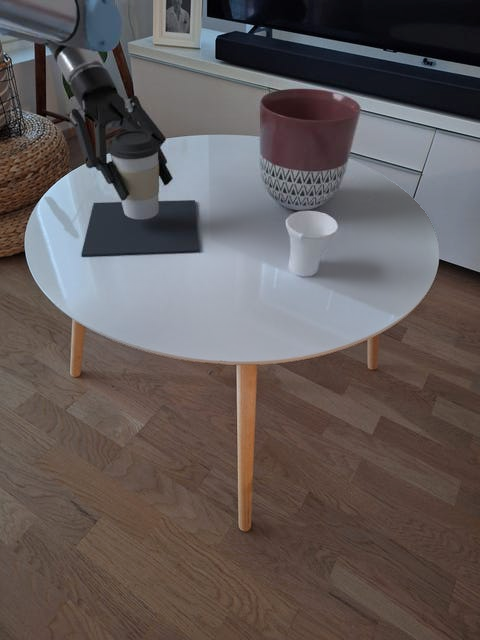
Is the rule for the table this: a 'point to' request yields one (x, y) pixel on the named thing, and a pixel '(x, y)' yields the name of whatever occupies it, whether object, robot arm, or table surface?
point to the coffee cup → (137, 171)
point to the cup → (308, 240)
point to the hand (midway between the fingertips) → (147, 189)
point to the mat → (142, 230)
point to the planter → (305, 144)
